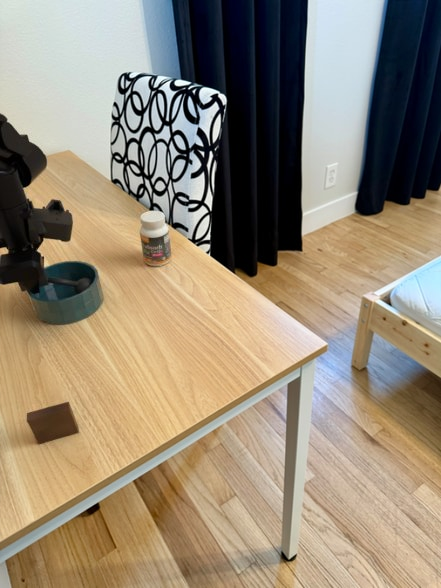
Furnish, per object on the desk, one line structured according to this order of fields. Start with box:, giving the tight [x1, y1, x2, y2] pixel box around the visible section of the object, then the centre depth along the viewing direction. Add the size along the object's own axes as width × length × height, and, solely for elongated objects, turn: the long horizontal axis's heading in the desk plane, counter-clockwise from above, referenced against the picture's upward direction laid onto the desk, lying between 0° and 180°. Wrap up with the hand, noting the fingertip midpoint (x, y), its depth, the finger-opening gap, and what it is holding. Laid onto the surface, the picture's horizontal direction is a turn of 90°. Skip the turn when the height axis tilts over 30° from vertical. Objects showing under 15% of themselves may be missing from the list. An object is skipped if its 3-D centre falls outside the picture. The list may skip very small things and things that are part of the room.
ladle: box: [17, 269, 93, 294], centre depth 75 cm, size 12×4×8 cm, turn 109°
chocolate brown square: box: [26, 401, 80, 445], centre depth 54 cm, size 5×1×5 cm, turn 109°
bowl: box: [26, 260, 104, 325], centre depth 76 cm, size 12×12×5 cm
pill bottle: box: [139, 210, 172, 267], centre depth 85 cm, size 6×6×10 cm
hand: (36, 285), depth 73 cm, fingers open, 4 cm apart
